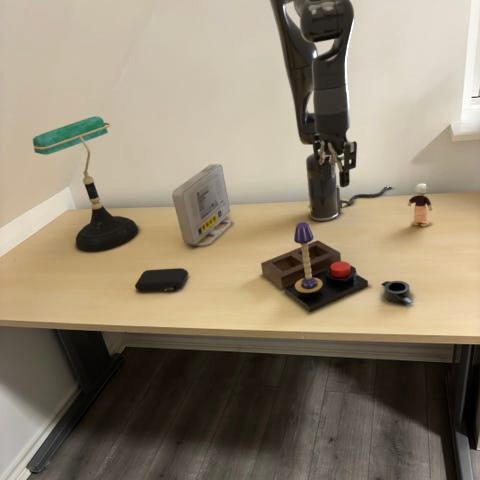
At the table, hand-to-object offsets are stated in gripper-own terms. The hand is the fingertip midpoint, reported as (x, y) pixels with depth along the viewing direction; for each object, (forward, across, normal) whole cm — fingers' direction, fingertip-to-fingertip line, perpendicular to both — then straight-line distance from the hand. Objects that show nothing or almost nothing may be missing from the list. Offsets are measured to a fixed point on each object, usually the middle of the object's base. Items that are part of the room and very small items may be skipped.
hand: (335, 182), depth 117 cm
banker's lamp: (+28, +83, +43) cm, 98 cm away
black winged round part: (+28, -14, -6) cm, 32 cm away
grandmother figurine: (+28, +12, -38) cm, 48 cm away
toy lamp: (+24, 0, +10) cm, 26 cm away
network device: (+28, +56, +13) cm, 64 cm away
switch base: (+28, 0, +5) cm, 28 cm away
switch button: (+25, 0, 0) cm, 25 cm away
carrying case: (+28, +34, +39) cm, 59 cm away
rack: (+28, +13, +4) cm, 31 cm away
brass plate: (+24, 0, +10) cm, 26 cm away
